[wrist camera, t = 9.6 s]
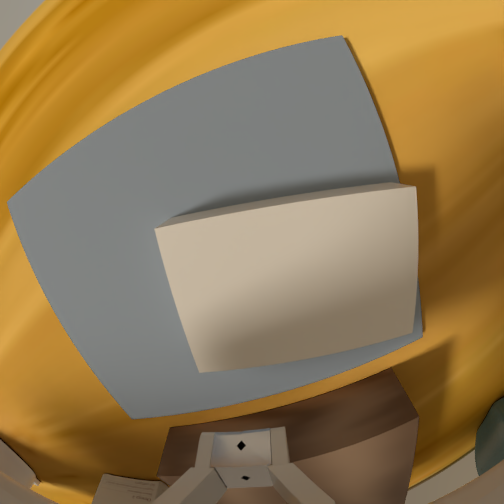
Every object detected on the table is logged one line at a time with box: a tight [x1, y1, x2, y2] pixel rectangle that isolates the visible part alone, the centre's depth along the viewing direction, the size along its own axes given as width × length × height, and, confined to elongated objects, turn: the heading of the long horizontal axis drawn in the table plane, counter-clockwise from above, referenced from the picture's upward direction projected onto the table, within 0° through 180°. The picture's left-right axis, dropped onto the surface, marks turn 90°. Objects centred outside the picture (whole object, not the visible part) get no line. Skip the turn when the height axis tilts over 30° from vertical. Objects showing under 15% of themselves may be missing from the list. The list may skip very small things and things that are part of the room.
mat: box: [7, 36, 423, 419], centre depth 12 cm, size 18×15×1 cm
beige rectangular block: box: [154, 182, 418, 373], centre depth 10 cm, size 9×6×2 cm, turn 100°
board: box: [157, 368, 419, 504], centre depth 15 cm, size 14×18×4 cm
